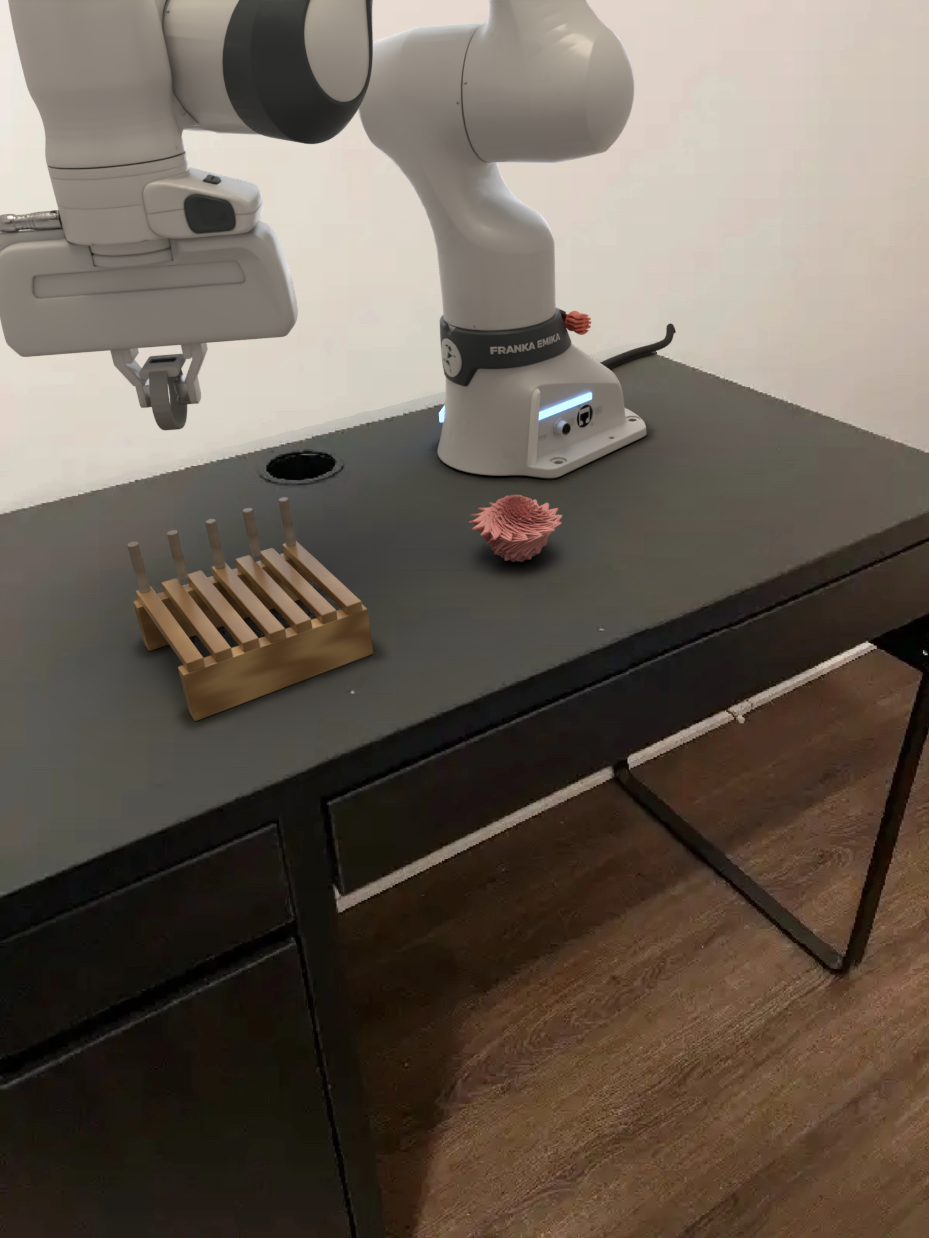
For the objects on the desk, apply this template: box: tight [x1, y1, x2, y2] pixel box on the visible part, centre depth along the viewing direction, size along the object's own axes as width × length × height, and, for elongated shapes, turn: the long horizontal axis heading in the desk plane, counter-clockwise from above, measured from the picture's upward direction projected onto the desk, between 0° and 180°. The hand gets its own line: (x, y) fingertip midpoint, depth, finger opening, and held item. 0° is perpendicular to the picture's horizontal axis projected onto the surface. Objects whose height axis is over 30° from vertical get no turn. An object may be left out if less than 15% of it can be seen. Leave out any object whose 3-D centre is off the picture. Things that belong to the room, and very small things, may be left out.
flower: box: [467, 494, 563, 563], centre depth 87 cm, size 8×8×6 cm
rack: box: [126, 496, 374, 722], centre depth 76 cm, size 14×12×9 cm
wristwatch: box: [139, 353, 188, 431], centre depth 75 cm, size 6×3×5 cm, turn 3°
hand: (171, 403), depth 76 cm, fingers closed on wristwatch
